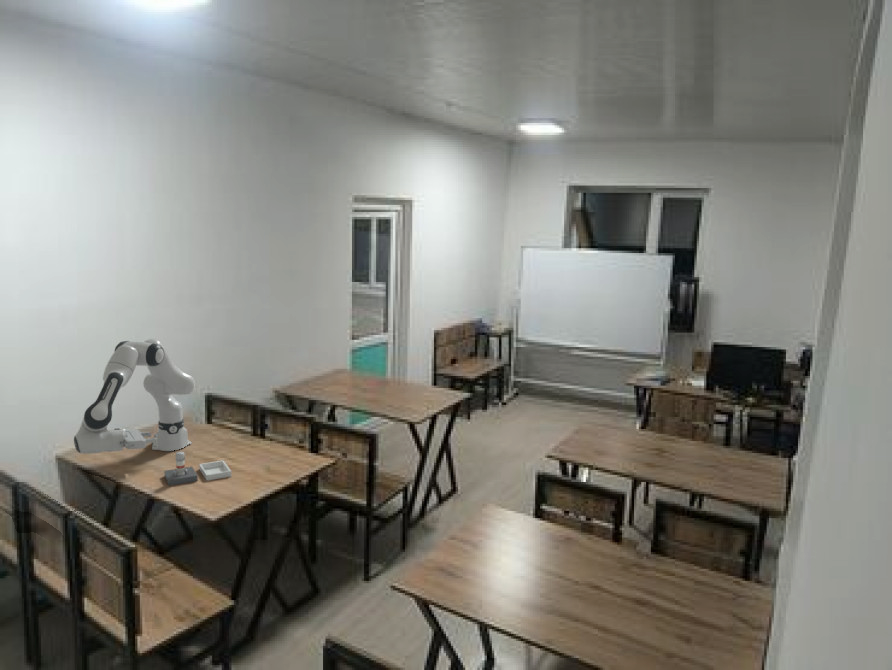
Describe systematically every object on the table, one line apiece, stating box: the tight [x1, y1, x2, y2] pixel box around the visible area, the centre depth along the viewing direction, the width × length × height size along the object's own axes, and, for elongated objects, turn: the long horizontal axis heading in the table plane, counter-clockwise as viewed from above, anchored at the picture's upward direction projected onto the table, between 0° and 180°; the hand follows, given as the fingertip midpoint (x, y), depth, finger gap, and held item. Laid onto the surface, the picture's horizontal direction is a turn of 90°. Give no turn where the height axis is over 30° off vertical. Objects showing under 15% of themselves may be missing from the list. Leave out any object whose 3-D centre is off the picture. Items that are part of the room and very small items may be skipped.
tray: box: [198, 460, 232, 482], centre depth 303 cm, size 15×11×4 cm
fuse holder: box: [163, 466, 199, 487], centre depth 295 cm, size 12×12×5 cm
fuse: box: [175, 451, 186, 476], centre depth 294 cm, size 4×4×12 cm
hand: (153, 437), depth 285 cm, fingers open, 8 cm apart
